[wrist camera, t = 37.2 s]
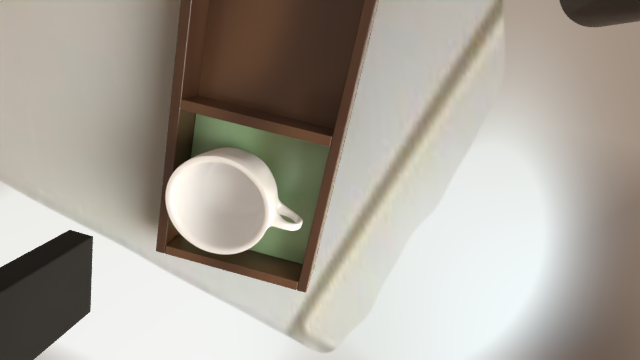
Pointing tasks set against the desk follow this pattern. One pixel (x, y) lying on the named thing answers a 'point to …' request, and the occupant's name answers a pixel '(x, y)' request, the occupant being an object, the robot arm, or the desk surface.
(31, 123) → the desk surface
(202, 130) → the wooden compartment tray
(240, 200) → the teacup
